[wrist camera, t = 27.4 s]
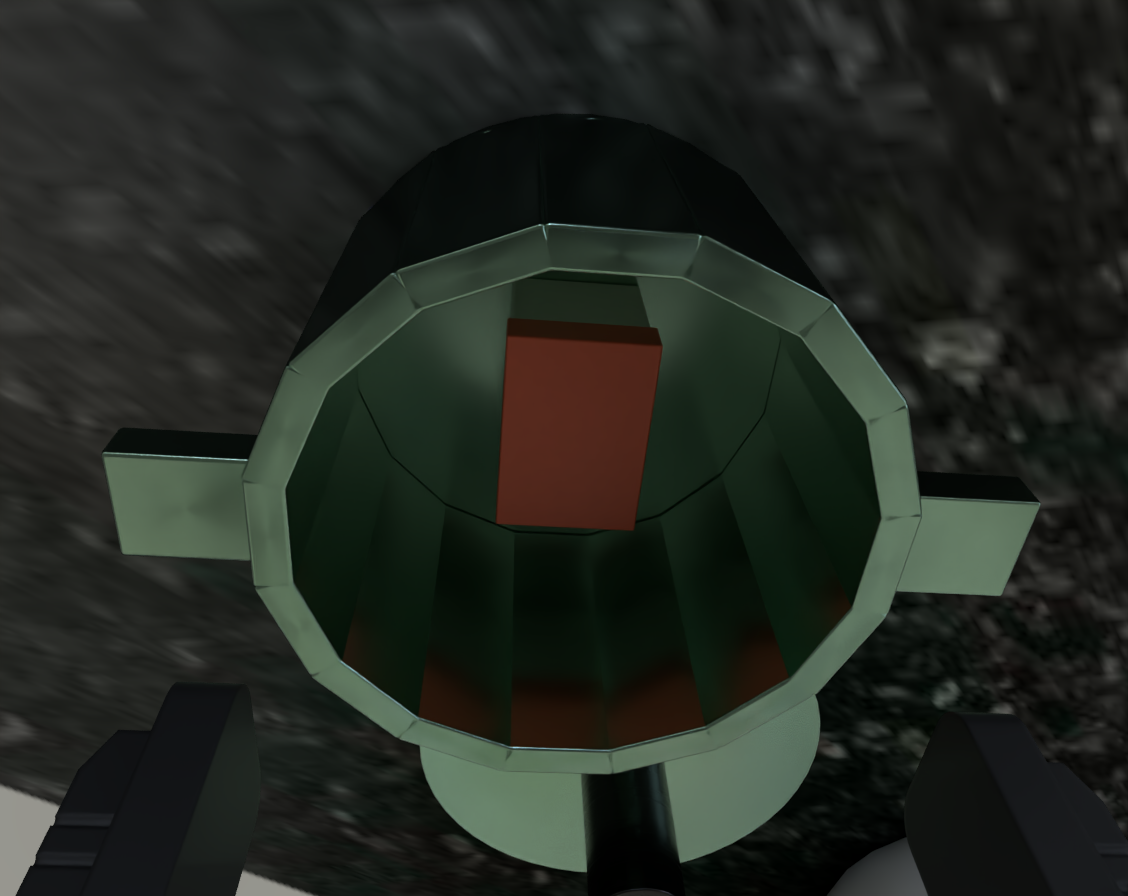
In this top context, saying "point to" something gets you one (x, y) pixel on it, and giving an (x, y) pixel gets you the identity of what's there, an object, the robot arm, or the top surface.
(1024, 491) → the pot
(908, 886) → the donut
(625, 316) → the block
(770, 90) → the top surface
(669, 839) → the lid
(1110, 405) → the top surface
